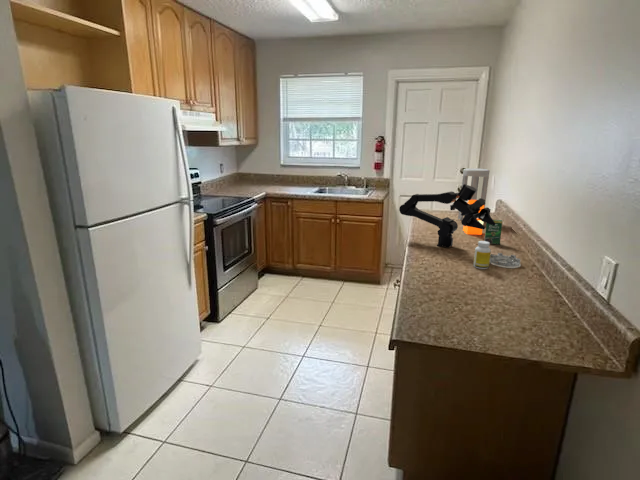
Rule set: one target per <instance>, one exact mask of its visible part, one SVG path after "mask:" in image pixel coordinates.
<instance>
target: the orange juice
mask: <svg viewBox="0 0 640 480" xmlns="http://www.w3.org/2000/svg"><path fill="white" fill-rule="evenodd" d="M477 200H478V199H476V200H468V201H467V202H468V204H473V203H474V202H475V201H477ZM483 208H484V205H483V206H482V207H481V208H480V211H481V209H483ZM480 211H479V213H480ZM477 220H478V221H479V222H480V223H481V224H482V225H483V226H484V222H483V221H482V220H480V219H478V218H477ZM463 231H464V232H463ZM462 232H463V233H465V234H466V235H479V236H481V235H482V234H483V229H479V228H474V227H469V226H468V227H467V226H464V225H463V227H462Z"/></svg>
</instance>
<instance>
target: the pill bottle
mask: <svg viewBox="0 0 640 480" xmlns="http://www.w3.org/2000/svg"><path fill="white" fill-rule="evenodd" d="M477 245H478V246H476V247H475V249H474V256H473V265H472V266H473V267H474V268H476V269H479V270H486V269H487V270H488V269H489V267H490V263H489V261H490V255H491V254H492V253H491V252H492V250H491V248H490V245H491V244H490V243H489V242H487V241H484V240H479V241H477Z"/></svg>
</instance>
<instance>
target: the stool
mask: <svg viewBox="0 0 640 480" xmlns="http://www.w3.org/2000/svg"><path fill="white" fill-rule="evenodd" d="M489 176H490V170H489V169H486V168H477V167H476V168H474V167H473V168H472V167H471V168H468V167H467V168H464V169H463V172H462V181H461V189H462V186H463V185H464V184H466V185H468V178H469V177H471V181H470V186H471V187H474V188H475V189H476V190H477V191H476V192H475V194H474V195H473V197H472V198H471V200H478V199H477V198H478V189H479V188H478V187H479V182H480V181H479V180H480V178H482V187H481V195H480V198H482V199H484V200H485V203H486V200H487V193H488V186H489V178H490V177H489ZM461 189H460V190H461ZM464 201H465V200H464ZM466 202H467V203H468V201H466ZM484 208H486V204H485V205H484ZM461 214H462V213H461V212H459V211H458V217H457V220H458V219H460V220H462V219H463V217H464V216H462V215H461Z"/></svg>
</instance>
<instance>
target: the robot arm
mask: <svg viewBox="0 0 640 480" xmlns="http://www.w3.org/2000/svg"><path fill="white" fill-rule="evenodd" d="M461 188H462V189H460V191H459V192H454V191H452V190H451V191H447V192H441V193H431V194H430V193H426V194H422V193H421V194H419V193H416V194H413V195H411V196H410V198H408V199H407V200H406V201H405V202H404V203H403V204H400V206H399V210H398V211H399V213H400V214H401V215H403V216H406V217H407V216H408V217H414V218H417V219H419V220H421V221H424V222H427V223H429V224H431V225H433V226H436V227H437V228H438V230H437V235H438V239H437V240H438V241H437V244H436V246H437V247H440V248H441V247H442V248H448V249H449V248H451V247H452V246H453V242H454V237H453V235H454V233H455V232H456V231H457V230H458V226H459V225H458V223H457V221H455V219H452V218H451V217H448V216H446V217H443V218H440V217H438V216H436V215H433V214H430V213H429V212H425V211H423V210H422V209H418V207H417V205H418V203H421V202H424V203H425V202H427V203H428V202H437V203H440V204H445V205H448V204H451V203H452V204H451V205H450V206H449V207H450V209H449V210H450V211H455V210H456V211H458V213H459V212H461V213H462V214H461V215H462V216H463V219H462V221H461V225H464V226H467V227H468V226H469V227H474V228H479V229H482V230H486V226H485V225H484V224H483V225H482V224H481V223H480V222H479V221H478V220H477V218H478V219H480V220H482V221H483V223H485V224H486V223H488V224H491V225H495V224H496V223H495V222H494V221H493V220H494V219H493V218H492V217H491V208H489V207H485V208H483V209H481V211H480V208H481V207H482V206H483V205H485V206H486V202H485V200H484V199H482V198H481V197H480V198H478V199H476V200H477V201H475V202H474V203H473V204H468V203H467V202H468V201H469V200H471V198H472V197H473V195H474V194H475V192H476V191H477V190H476V189H475V188H474V187H471V185H469V184H467V185H466V184H464V185H463V186H462V185H461ZM477 192H478V191H477ZM464 200H465V201H464ZM479 211H480V213H479Z"/></svg>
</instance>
